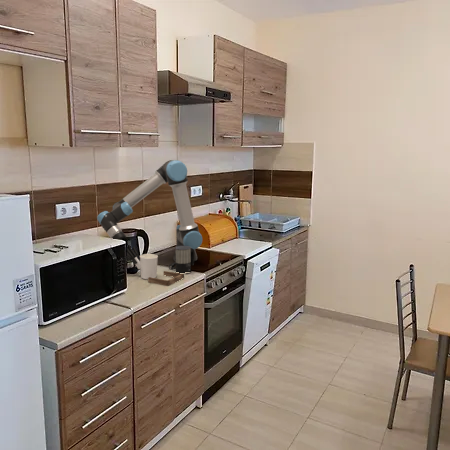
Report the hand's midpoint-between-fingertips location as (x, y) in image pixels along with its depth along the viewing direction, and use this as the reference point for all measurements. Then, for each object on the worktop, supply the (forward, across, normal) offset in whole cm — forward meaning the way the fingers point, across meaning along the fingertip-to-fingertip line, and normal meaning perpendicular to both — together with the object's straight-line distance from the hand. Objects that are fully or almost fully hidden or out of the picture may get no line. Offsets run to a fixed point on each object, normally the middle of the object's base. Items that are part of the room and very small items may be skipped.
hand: (141, 267), depth 239 cm
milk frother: (+12, -21, +5) cm, 24 cm away
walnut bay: (+15, -1, +8) cm, 17 cm away
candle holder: (+7, -1, 0) cm, 7 cm away
